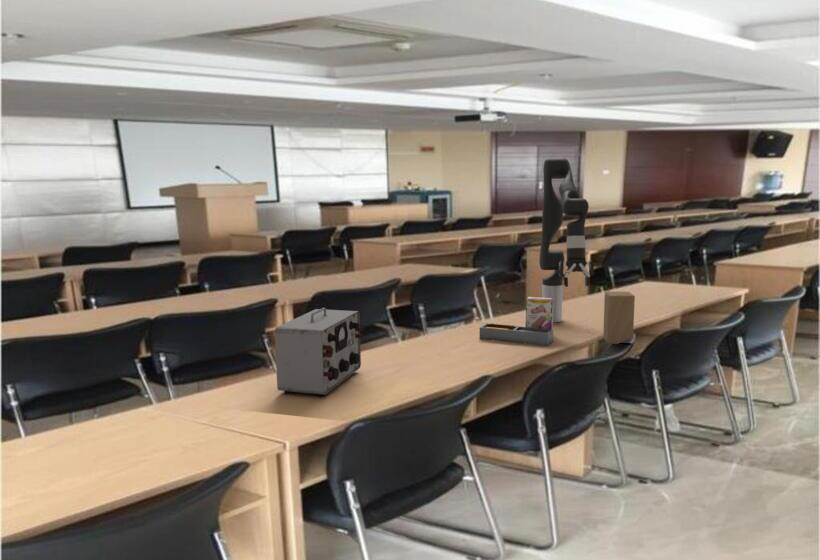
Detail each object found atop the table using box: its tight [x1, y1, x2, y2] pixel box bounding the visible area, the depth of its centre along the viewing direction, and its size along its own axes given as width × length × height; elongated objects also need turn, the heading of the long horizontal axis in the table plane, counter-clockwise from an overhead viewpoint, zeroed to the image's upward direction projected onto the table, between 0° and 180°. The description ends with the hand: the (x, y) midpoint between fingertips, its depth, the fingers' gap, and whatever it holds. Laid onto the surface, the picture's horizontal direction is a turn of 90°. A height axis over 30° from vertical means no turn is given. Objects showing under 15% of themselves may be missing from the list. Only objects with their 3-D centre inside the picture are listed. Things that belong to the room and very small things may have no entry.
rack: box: [479, 322, 554, 347], centre depth 277 cm, size 8×29×5 cm, turn 65°
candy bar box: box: [525, 296, 554, 330], centre depth 283 cm, size 11×5×16 cm, turn 71°
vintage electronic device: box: [274, 307, 364, 398], centre depth 222 cm, size 32×18×25 cm, turn 163°
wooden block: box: [602, 291, 635, 345], centre depth 272 cm, size 10×10×20 cm
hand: (576, 286), depth 274 cm, fingers open, 8 cm apart
